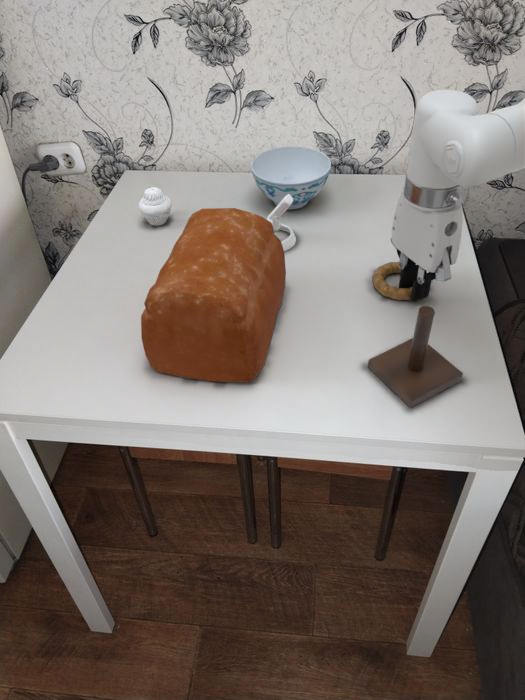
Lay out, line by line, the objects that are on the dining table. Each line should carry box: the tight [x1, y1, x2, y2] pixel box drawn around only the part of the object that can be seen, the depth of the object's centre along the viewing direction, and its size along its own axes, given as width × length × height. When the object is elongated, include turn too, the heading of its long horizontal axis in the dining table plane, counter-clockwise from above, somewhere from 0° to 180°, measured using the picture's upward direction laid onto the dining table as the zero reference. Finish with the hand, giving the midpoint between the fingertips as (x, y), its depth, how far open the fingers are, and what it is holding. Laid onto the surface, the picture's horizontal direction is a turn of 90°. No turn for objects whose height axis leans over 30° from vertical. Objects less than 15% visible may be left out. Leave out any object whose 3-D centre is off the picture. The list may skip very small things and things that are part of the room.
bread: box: [140, 207, 287, 383], centre depth 85 cm, size 17×24×15 cm
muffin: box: [137, 186, 173, 227], centre depth 110 cm, size 6×6×7 cm
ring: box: [371, 261, 412, 301], centre depth 95 cm, size 9×9×2 cm
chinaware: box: [250, 145, 332, 210], centre depth 113 cm, size 15×15×8 cm
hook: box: [266, 194, 297, 252], centre depth 103 cm, size 8×12×7 cm
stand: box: [367, 305, 464, 409], centre depth 78 cm, size 9×9×12 cm
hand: (413, 292), depth 93 cm, fingers closed on ring, 2 cm apart
